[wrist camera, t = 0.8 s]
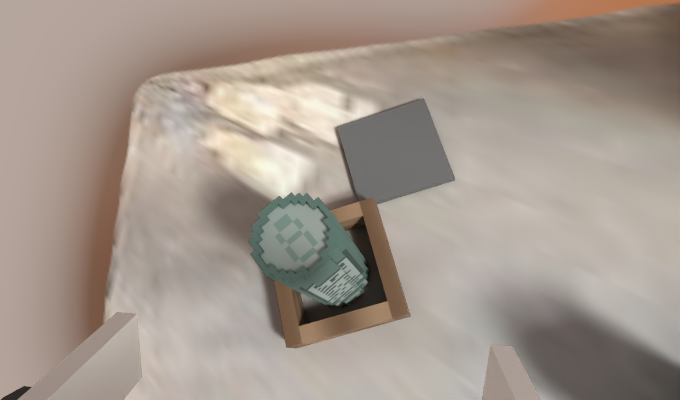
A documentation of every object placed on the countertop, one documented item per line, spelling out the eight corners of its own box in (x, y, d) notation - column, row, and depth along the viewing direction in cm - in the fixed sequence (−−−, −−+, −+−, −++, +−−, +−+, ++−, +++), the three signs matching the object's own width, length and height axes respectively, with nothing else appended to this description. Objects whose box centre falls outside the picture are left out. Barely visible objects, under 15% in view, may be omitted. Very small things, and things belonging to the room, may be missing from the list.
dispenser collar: (377, 206, 45) (373, 197, 42) (410, 316, 40) (408, 313, 38) (274, 238, 46) (264, 230, 43) (296, 348, 41) (286, 347, 39)
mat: (423, 101, 48) (423, 98, 47) (454, 180, 44) (454, 177, 43) (338, 129, 49) (337, 127, 48) (361, 209, 45) (360, 207, 44)
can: (342, 233, 44) (301, 177, 31) (381, 278, 42) (354, 239, 28) (297, 271, 44) (234, 232, 30) (333, 319, 42) (283, 300, 28)
